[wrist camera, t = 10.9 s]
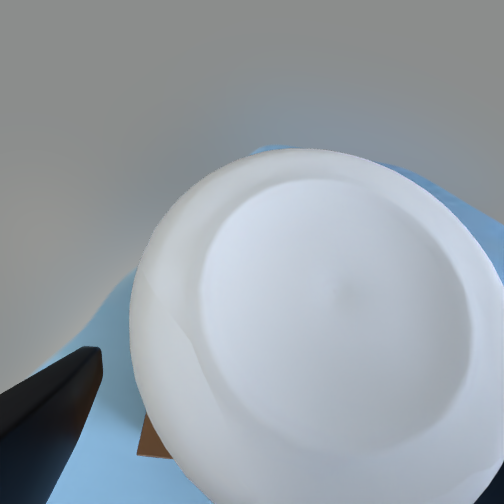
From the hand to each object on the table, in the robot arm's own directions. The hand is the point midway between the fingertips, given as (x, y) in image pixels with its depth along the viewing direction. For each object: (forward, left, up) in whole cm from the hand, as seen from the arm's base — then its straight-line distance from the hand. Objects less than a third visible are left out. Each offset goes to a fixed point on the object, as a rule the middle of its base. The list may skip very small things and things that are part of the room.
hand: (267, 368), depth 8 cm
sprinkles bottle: (0, 0, -8) cm, 8 cm away
